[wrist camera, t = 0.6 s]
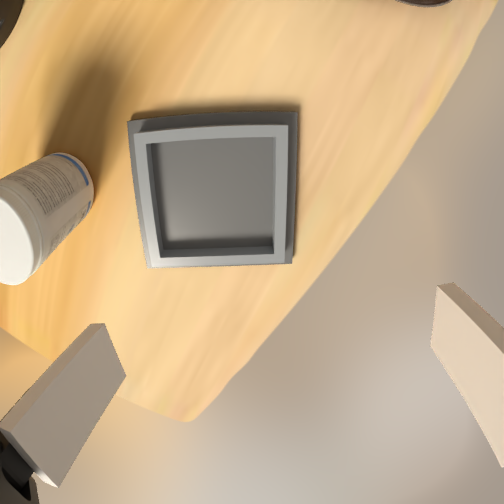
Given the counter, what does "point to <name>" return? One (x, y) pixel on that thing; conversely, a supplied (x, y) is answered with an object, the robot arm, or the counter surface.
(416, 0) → the plant saucer
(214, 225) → the board
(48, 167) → the supplement tub
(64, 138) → the counter surface
